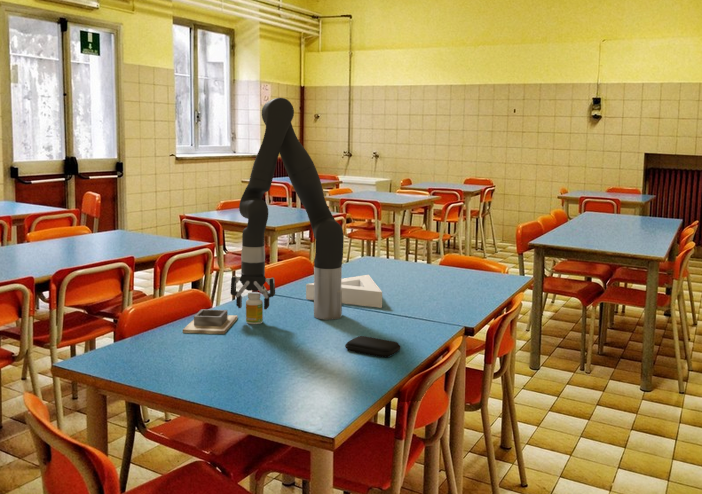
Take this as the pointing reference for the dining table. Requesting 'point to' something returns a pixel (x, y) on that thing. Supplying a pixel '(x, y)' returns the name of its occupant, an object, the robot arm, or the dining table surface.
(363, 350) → the carrying case or bag
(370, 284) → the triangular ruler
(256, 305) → the supplement bottle
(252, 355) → the dining table surface
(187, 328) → the caddy
